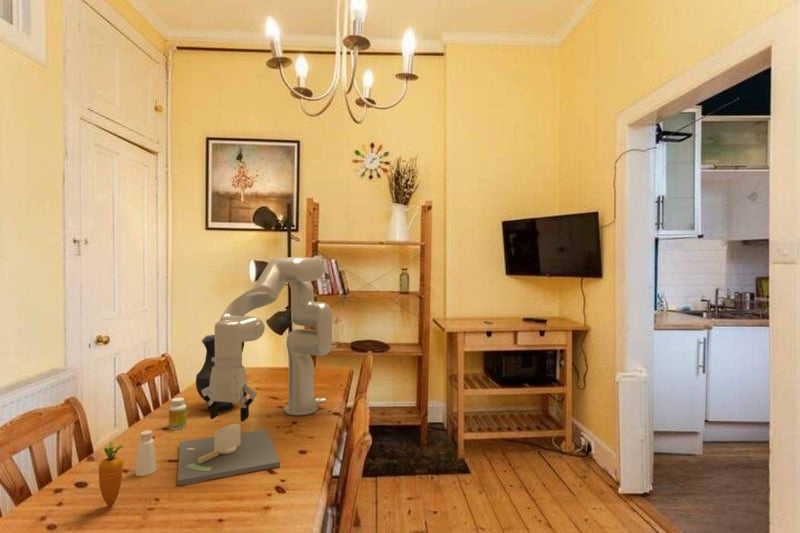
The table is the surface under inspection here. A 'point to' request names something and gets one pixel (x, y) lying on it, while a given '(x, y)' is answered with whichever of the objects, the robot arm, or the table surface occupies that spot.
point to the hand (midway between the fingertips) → (229, 418)
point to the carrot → (110, 475)
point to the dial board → (226, 458)
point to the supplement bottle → (177, 414)
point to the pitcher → (205, 372)
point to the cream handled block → (224, 441)
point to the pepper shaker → (146, 455)
